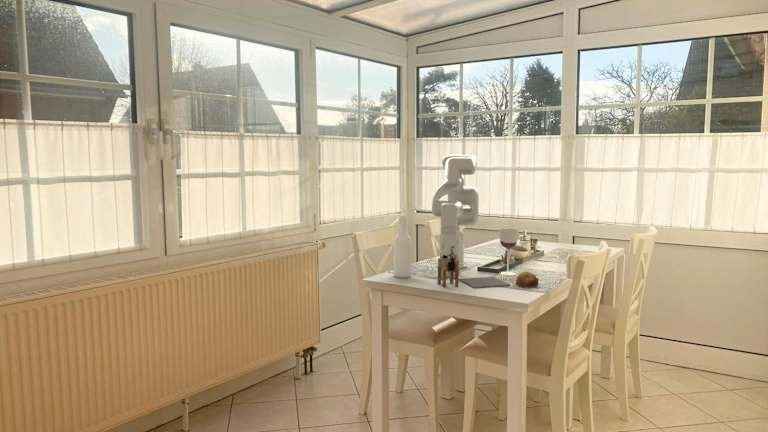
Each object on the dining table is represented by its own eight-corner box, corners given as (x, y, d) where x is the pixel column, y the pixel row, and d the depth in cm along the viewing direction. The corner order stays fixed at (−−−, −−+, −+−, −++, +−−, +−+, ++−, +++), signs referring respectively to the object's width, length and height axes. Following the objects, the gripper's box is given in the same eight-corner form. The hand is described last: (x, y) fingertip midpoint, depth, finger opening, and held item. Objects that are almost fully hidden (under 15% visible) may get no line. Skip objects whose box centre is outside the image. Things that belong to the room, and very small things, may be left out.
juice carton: (444, 277, 274) (444, 228, 271) (438, 274, 281) (438, 226, 278) (461, 276, 276) (462, 228, 273) (455, 273, 284) (456, 225, 281)
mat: (458, 280, 269) (458, 278, 269) (492, 277, 274) (492, 276, 274) (473, 288, 252) (474, 287, 252) (510, 285, 257) (510, 284, 257)
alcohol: (391, 277, 274) (391, 215, 271) (396, 273, 283) (397, 213, 279) (408, 278, 271) (408, 216, 268) (413, 274, 280) (414, 214, 276)
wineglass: (517, 275, 279) (519, 231, 276) (497, 274, 281) (499, 230, 278) (517, 272, 287) (518, 229, 285) (497, 271, 289) (499, 228, 287)
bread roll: (516, 290, 264) (509, 275, 263) (536, 280, 265) (529, 265, 263) (523, 295, 254) (516, 280, 253) (543, 285, 255) (536, 270, 254)
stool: (437, 283, 260) (438, 258, 259) (452, 283, 262) (452, 257, 261) (443, 287, 254) (444, 261, 252) (458, 286, 256) (458, 260, 254)
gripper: (434, 227, 262) (433, 265, 264) (448, 233, 246) (447, 273, 248) (449, 227, 264) (448, 264, 266) (464, 232, 248) (463, 272, 250)
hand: (448, 268), depth 257 cm, fingers closed on stool, 7 cm apart
